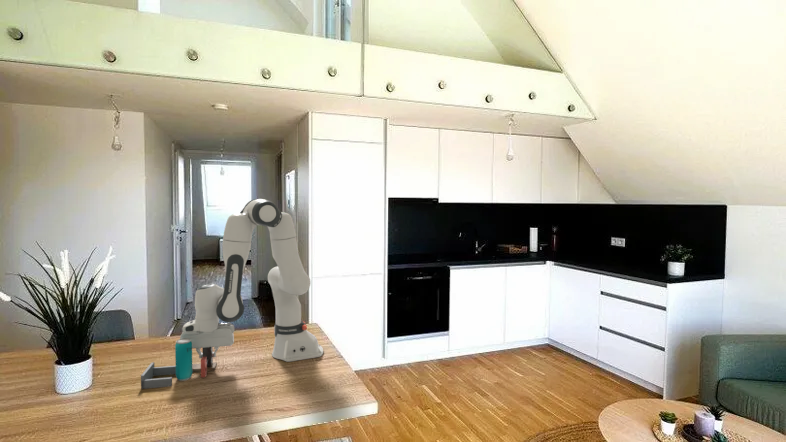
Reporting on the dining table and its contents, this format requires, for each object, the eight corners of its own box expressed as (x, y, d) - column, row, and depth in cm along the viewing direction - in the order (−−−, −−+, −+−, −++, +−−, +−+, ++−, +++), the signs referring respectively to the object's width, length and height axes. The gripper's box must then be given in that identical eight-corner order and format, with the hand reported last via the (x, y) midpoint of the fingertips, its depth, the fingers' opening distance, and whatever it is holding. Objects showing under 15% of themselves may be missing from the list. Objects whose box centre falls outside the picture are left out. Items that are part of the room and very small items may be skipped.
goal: (179, 372, 163) (179, 360, 163) (171, 386, 152) (171, 373, 152) (151, 374, 161) (151, 362, 161) (141, 389, 149) (140, 375, 149)
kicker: (212, 365, 170) (212, 344, 169) (207, 377, 159) (207, 354, 158) (204, 366, 169) (204, 344, 168) (198, 377, 158) (198, 355, 158)
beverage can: (195, 375, 161) (195, 338, 160) (186, 382, 155) (186, 343, 154) (181, 374, 162) (181, 337, 161) (172, 381, 156) (171, 342, 155)
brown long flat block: (216, 365, 171) (216, 362, 171) (214, 370, 166) (214, 367, 166) (174, 368, 167) (174, 365, 167) (171, 373, 162) (171, 370, 162)
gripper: (235, 320, 172) (235, 352, 173) (182, 323, 167) (182, 356, 168) (233, 324, 166) (233, 358, 167) (178, 328, 161) (178, 362, 162)
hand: (207, 357), depth 168 cm, fingers closed on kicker, 3 cm apart
